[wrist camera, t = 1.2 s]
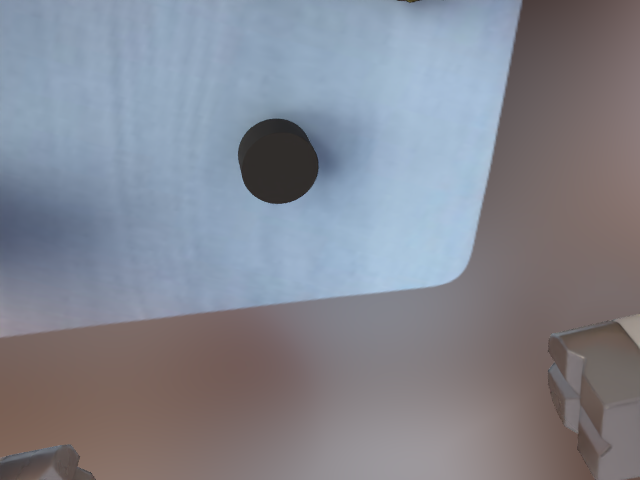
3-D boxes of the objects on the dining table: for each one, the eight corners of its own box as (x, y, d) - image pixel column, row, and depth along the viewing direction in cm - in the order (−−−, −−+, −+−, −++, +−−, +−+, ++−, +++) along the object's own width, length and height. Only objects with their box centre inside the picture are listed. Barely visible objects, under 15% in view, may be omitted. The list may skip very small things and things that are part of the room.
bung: (229, 169, 39) (234, 197, 35) (244, 102, 37) (250, 125, 33) (295, 180, 40) (307, 209, 37) (313, 117, 38) (327, 140, 34)
